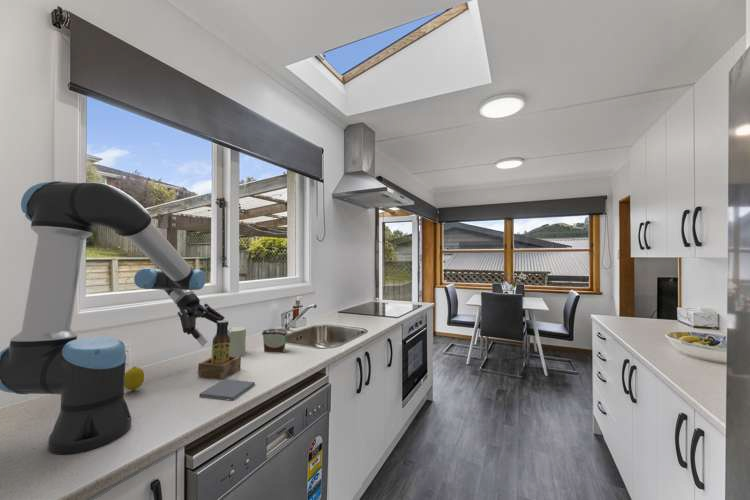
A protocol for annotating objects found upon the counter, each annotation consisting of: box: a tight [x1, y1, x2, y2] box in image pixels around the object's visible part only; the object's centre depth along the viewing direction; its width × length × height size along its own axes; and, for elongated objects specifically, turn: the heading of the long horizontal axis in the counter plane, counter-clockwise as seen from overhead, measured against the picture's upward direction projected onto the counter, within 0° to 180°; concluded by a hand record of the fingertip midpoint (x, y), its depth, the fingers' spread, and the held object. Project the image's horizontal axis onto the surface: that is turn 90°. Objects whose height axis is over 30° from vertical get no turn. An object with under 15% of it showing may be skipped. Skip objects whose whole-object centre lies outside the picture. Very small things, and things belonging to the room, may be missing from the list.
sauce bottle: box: [210, 319, 230, 364], centre depth 118 cm, size 6×6×20 cm
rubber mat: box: [198, 378, 256, 401], centre depth 103 cm, size 12×12×1 cm
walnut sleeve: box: [197, 356, 242, 380], centre depth 118 cm, size 10×10×5 cm
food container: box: [261, 328, 288, 354], centre depth 147 cm, size 12×6×10 cm, turn 84°
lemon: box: [124, 366, 145, 392], centre depth 101 cm, size 6×6×8 cm
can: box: [228, 326, 247, 357], centre depth 141 cm, size 9×9×12 cm
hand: (217, 339), depth 120 cm, fingers open, 13 cm apart
